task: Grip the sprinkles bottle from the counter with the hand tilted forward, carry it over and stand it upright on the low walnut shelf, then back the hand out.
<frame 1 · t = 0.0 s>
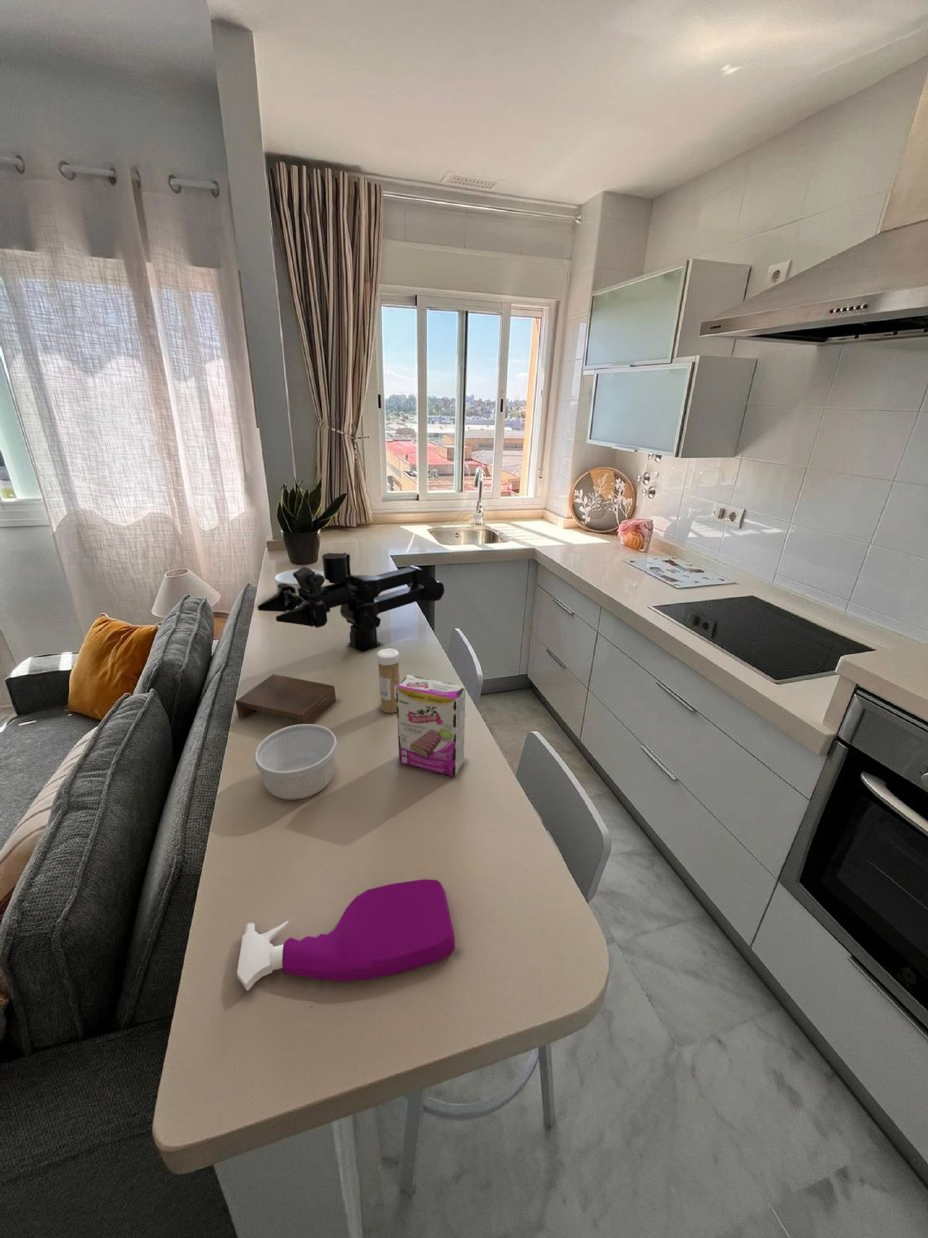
hand: (266, 613, 113), 17 cm above the worktop, tool horizontal, fingers open, 9 cm apart
cereal bowl: (302, 595, 173), on the worktop
candy bar box: (431, 764, 90), on the worktop
ramekin: (301, 779, 86), on the worktop
sprinkles bottle: (391, 708, 107), on the worktop
shelf: (288, 709, 106), on the worktop
spray bottle: (349, 944, 60), on the worktop
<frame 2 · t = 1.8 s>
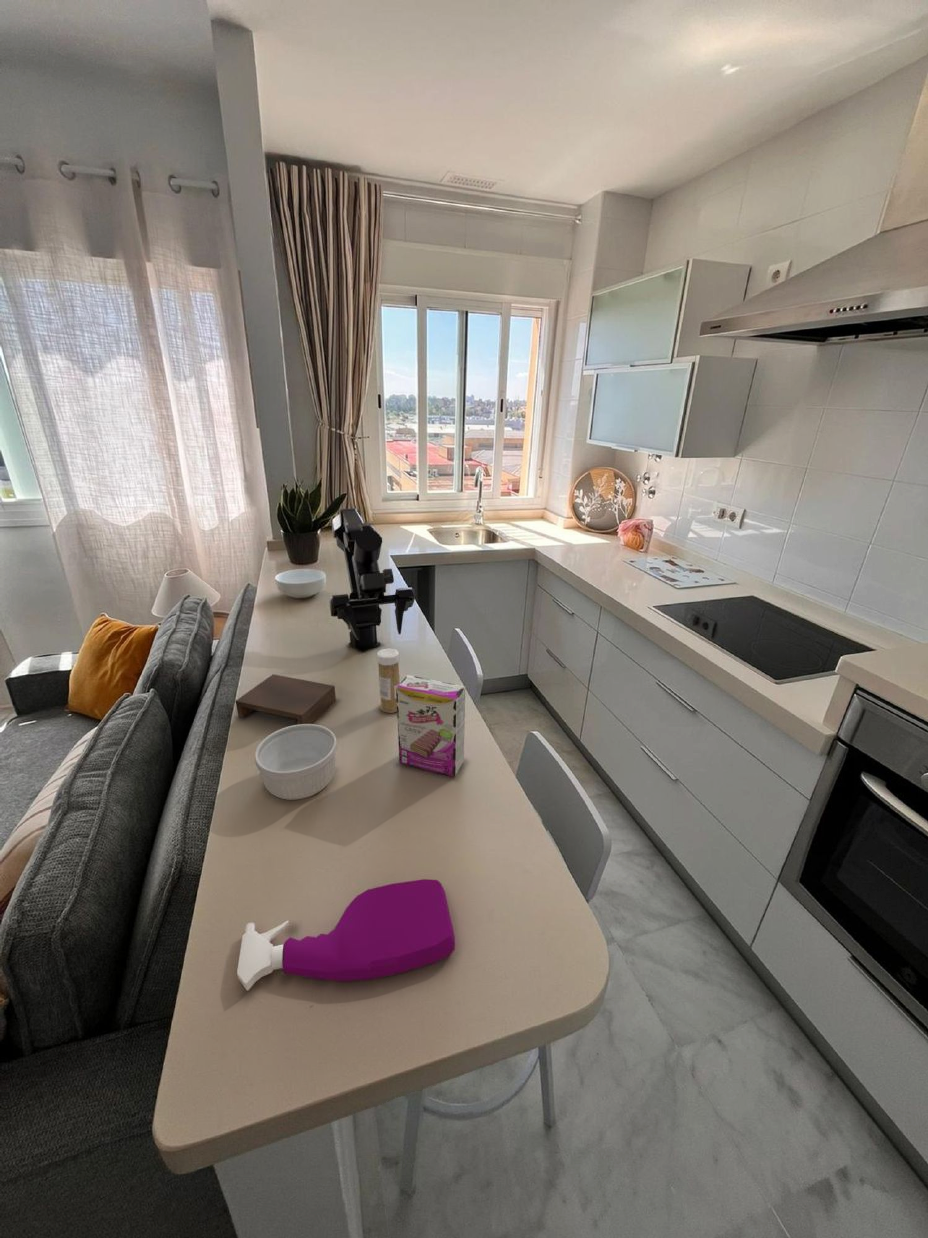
hand: (379, 636, 109), 14 cm above the worktop, tool tilted 45°, fingers open, 9 cm apart
nothing on the worktop moved.
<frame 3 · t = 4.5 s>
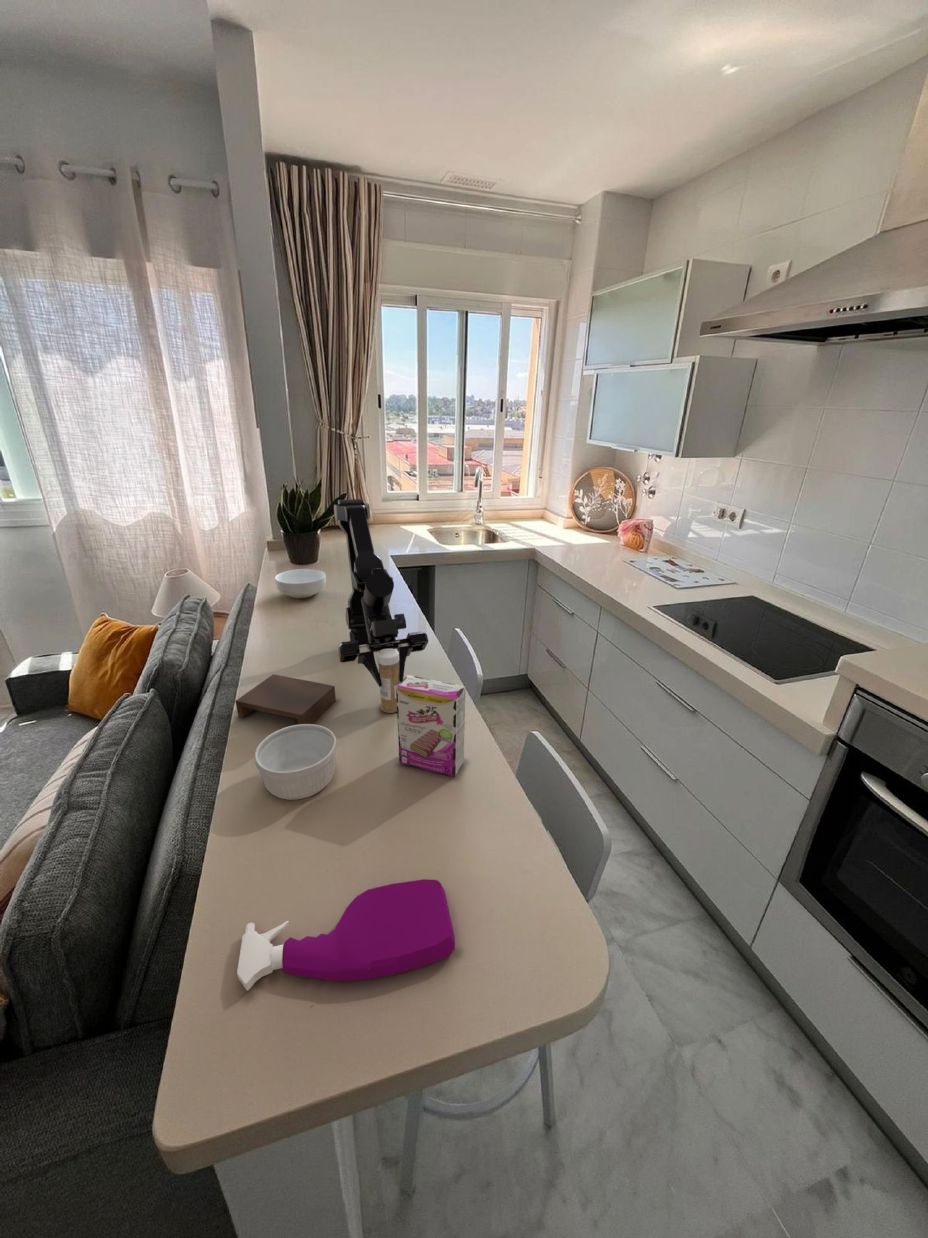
hand: (391, 684, 103), 7 cm above the worktop, tool tilted 45°, fingers closed on sprinkles bottle, 4 cm apart
sprinkles bottle: (391, 708, 107), on the worktop, touching gripper
everything else where it was.
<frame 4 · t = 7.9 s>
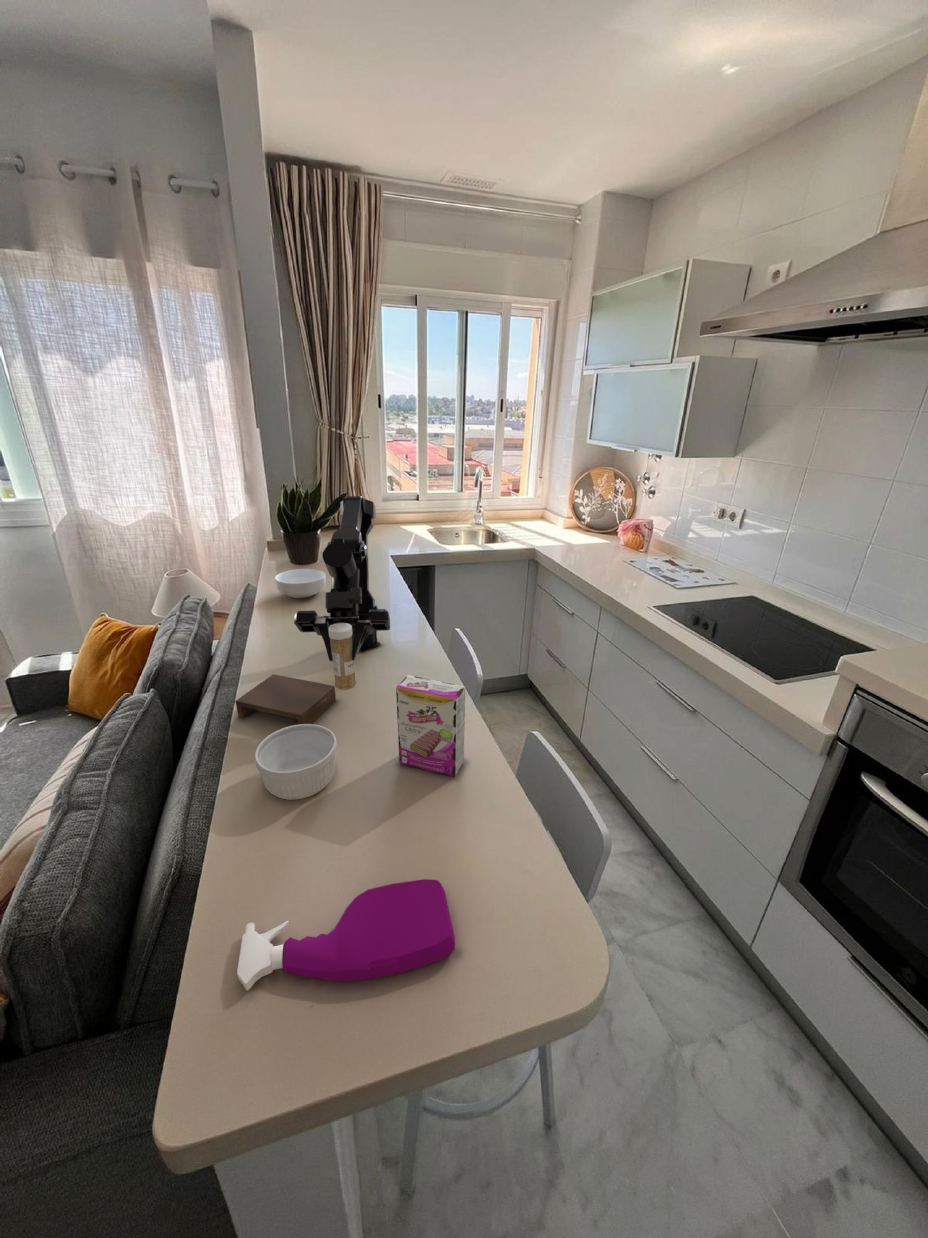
hand: (341, 660, 99), 13 cm above the worktop, tool tilted 45°, fingers closed on sprinkles bottle, 4 cm apart
sprinkles bottle: (345, 686, 103), point 6 cm above the worktop, touching gripper
everything else where it was.
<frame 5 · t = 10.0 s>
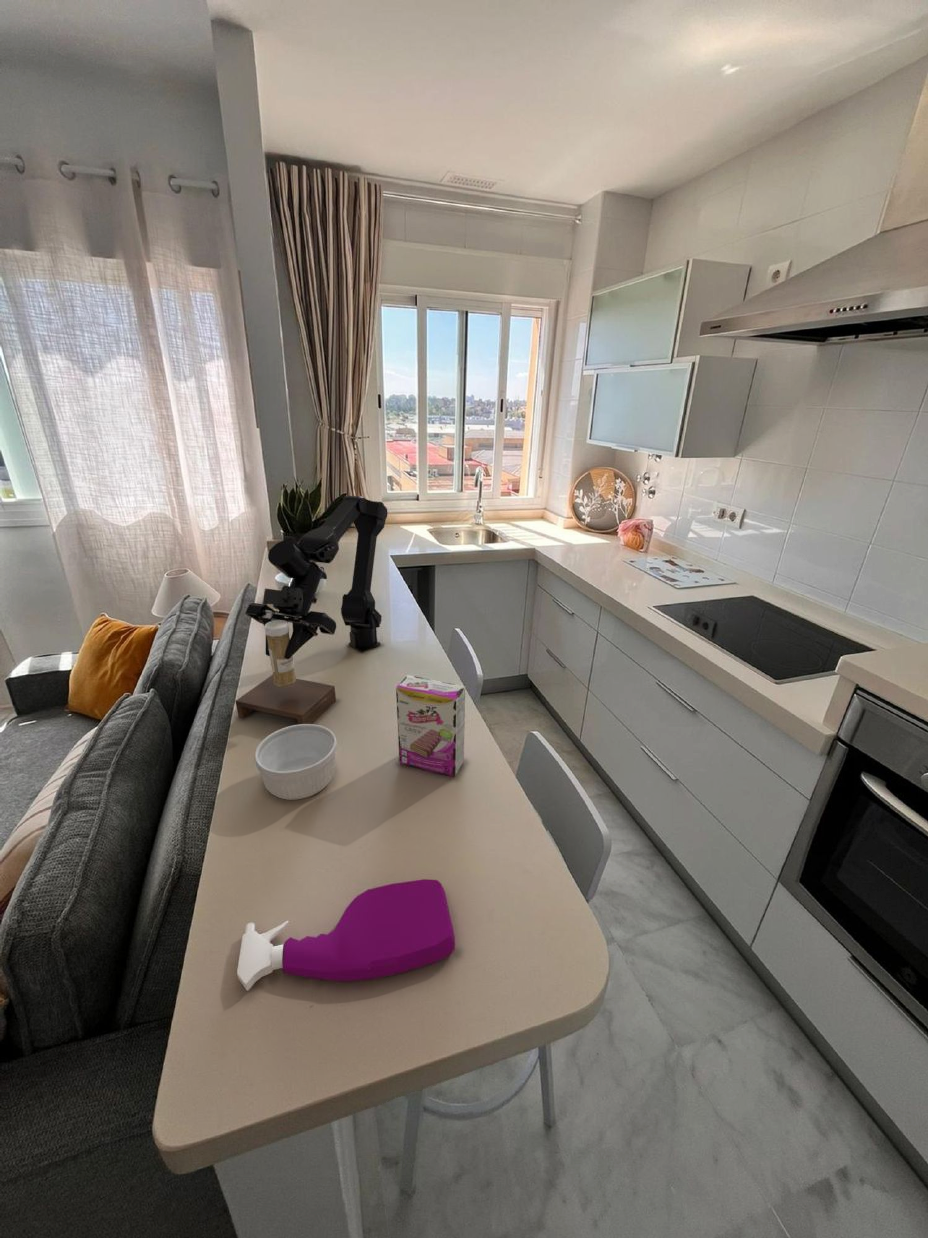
hand: (276, 657, 100), 13 cm above the worktop, tool tilted 45°, fingers closed on sprinkles bottle, 4 cm apart
sprinkles bottle: (285, 682, 104), point 6 cm above the worktop, touching gripper
everything else where it was.
when the fingers open (11 cm above the worktop, at t = 11.2 s): sprinkles bottle stays where it is, resting on shelf.
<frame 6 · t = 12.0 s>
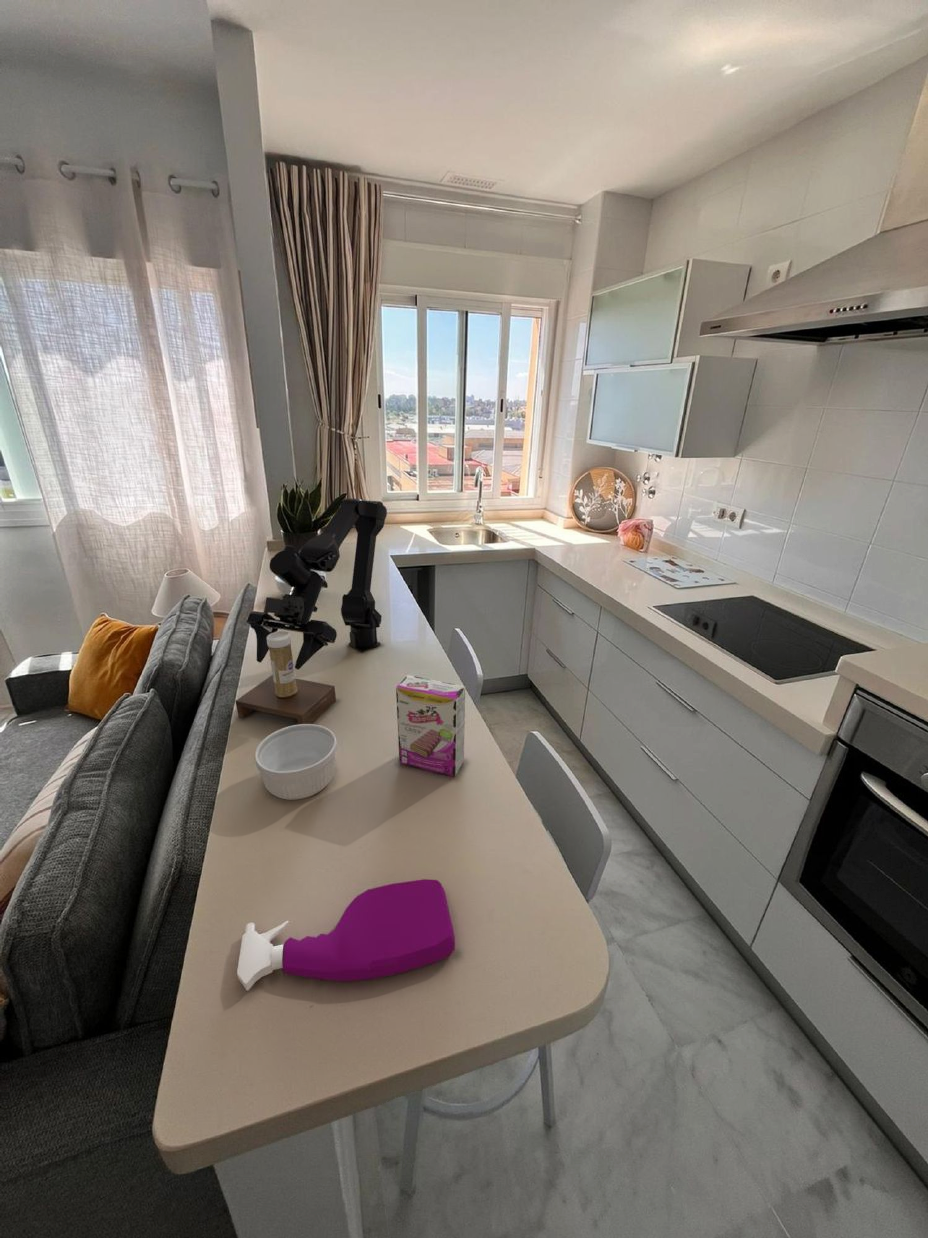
hand: (277, 665, 101), 11 cm above the worktop, tool tilted 45°, fingers open, 9 cm apart
sprinkles bottle: (286, 693, 105), point 4 cm above the worktop, touching shelf
everything else where it was.
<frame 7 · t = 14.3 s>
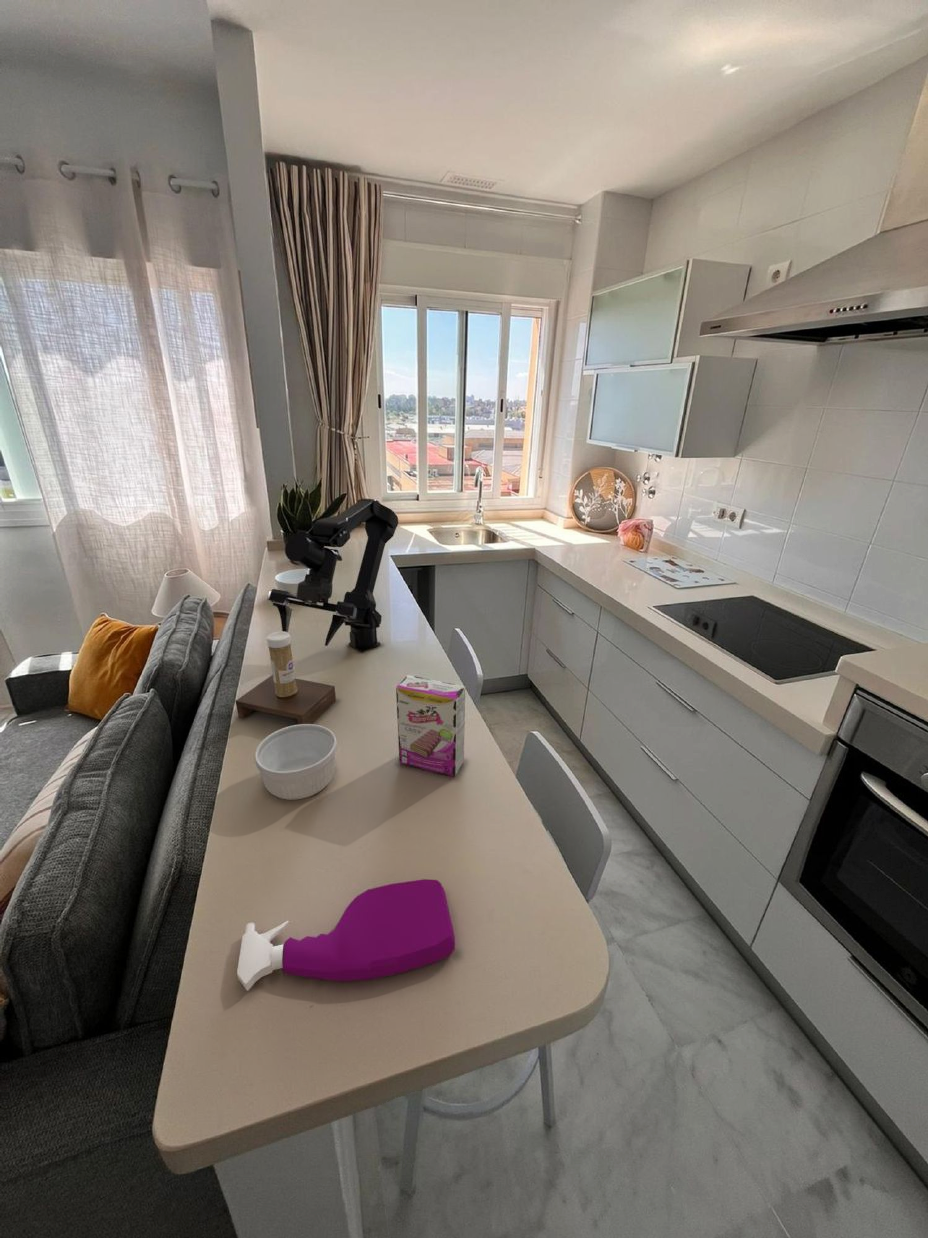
hand: (305, 642, 110), 12 cm above the worktop, tool tilted 30°, fingers open, 9 cm apart
nothing on the worktop moved.
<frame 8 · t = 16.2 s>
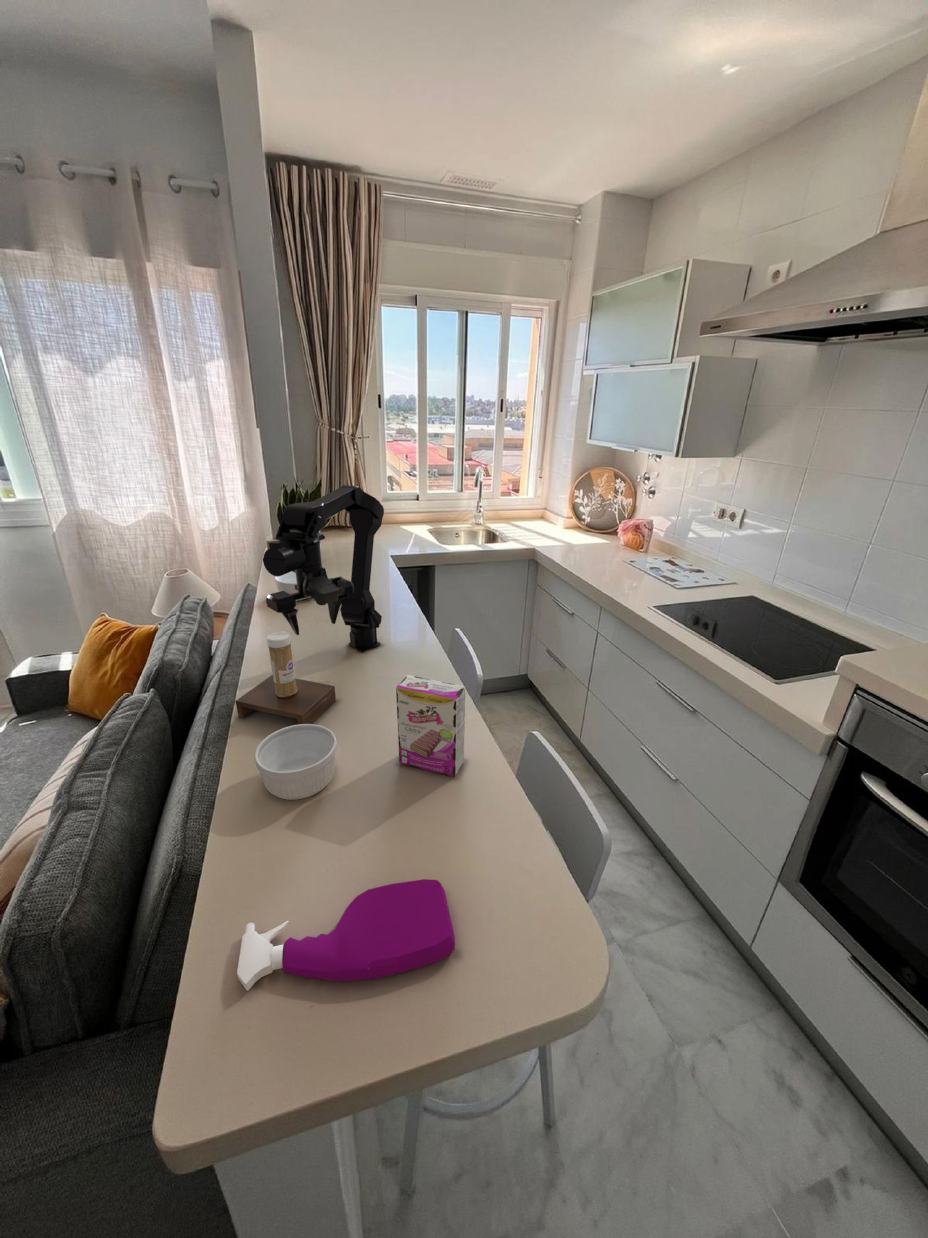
hand: (315, 628, 114), 13 cm above the worktop, tool pointing down, fingers open, 9 cm apart
nothing on the worktop moved.
at the end: sprinkles bottle inside the target area on the shelf (0.2 cm from its centre), point 3.8 cm above the shelf's base; sprinkles bottle tilted 0°; the gripper is holding nothing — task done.
